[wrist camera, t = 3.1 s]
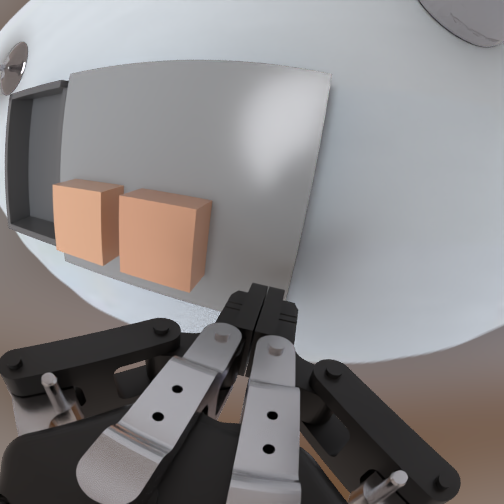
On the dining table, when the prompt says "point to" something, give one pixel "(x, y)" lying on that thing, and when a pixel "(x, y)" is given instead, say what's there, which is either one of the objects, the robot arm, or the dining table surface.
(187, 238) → the tile front
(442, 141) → the dining table surface
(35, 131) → the tray
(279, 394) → the robot arm
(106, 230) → the tile rear
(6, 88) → the wine glass
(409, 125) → the dining table surface
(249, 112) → the slate ledge
